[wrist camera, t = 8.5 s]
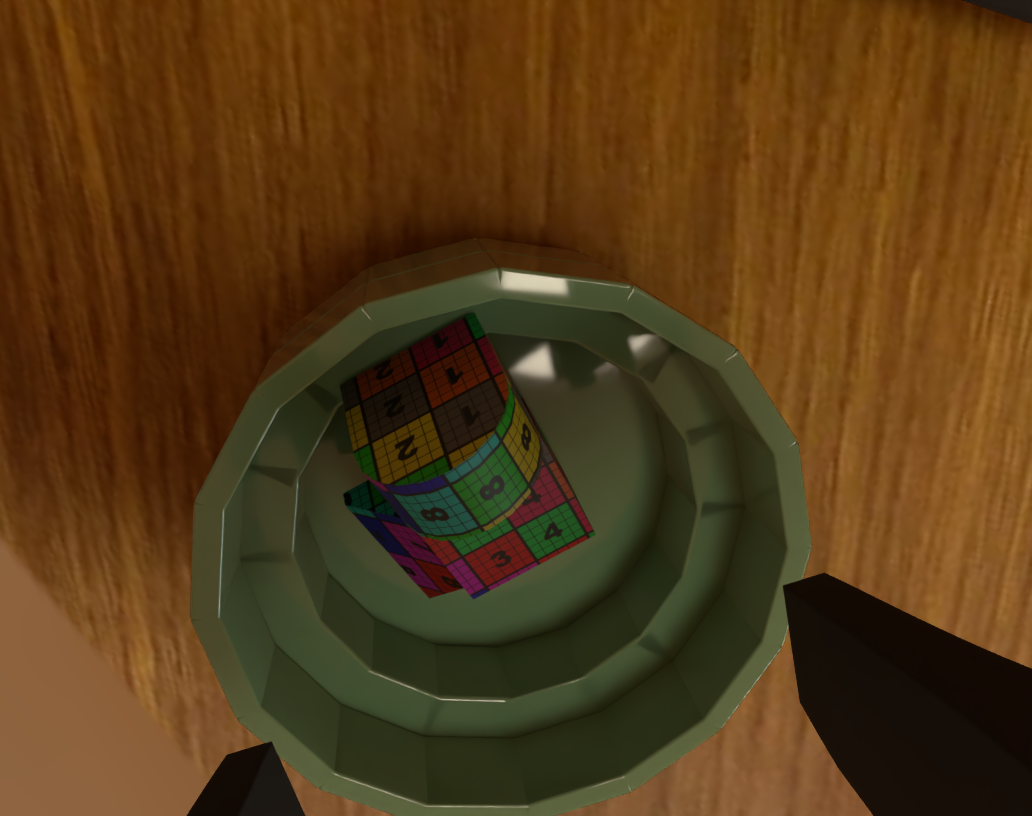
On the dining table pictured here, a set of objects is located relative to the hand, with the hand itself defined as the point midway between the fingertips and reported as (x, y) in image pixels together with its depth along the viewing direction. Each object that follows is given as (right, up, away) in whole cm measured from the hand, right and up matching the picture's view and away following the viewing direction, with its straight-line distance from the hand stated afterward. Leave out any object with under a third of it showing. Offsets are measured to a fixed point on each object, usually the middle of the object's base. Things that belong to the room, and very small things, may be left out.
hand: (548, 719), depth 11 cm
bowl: (-1, +3, +8) cm, 8 cm away
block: (-2, +3, +6) cm, 7 cm away
